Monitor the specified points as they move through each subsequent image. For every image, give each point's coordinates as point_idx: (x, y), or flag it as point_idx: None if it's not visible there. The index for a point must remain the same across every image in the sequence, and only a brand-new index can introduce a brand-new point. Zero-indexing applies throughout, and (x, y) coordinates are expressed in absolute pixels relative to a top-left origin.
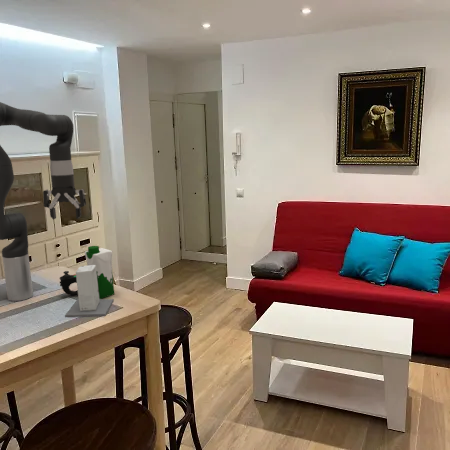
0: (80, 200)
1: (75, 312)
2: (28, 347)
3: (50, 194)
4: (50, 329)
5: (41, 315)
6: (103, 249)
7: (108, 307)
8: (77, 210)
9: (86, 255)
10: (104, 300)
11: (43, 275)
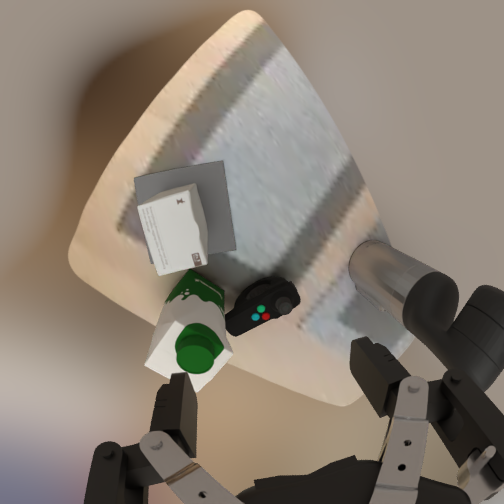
0: (114, 490)
1: (204, 177)
2: (232, 36)
3: (460, 480)
4: (226, 100)
5: (282, 167)
6: None
7: None
8: (165, 417)
9: (222, 340)
10: None
11: None
